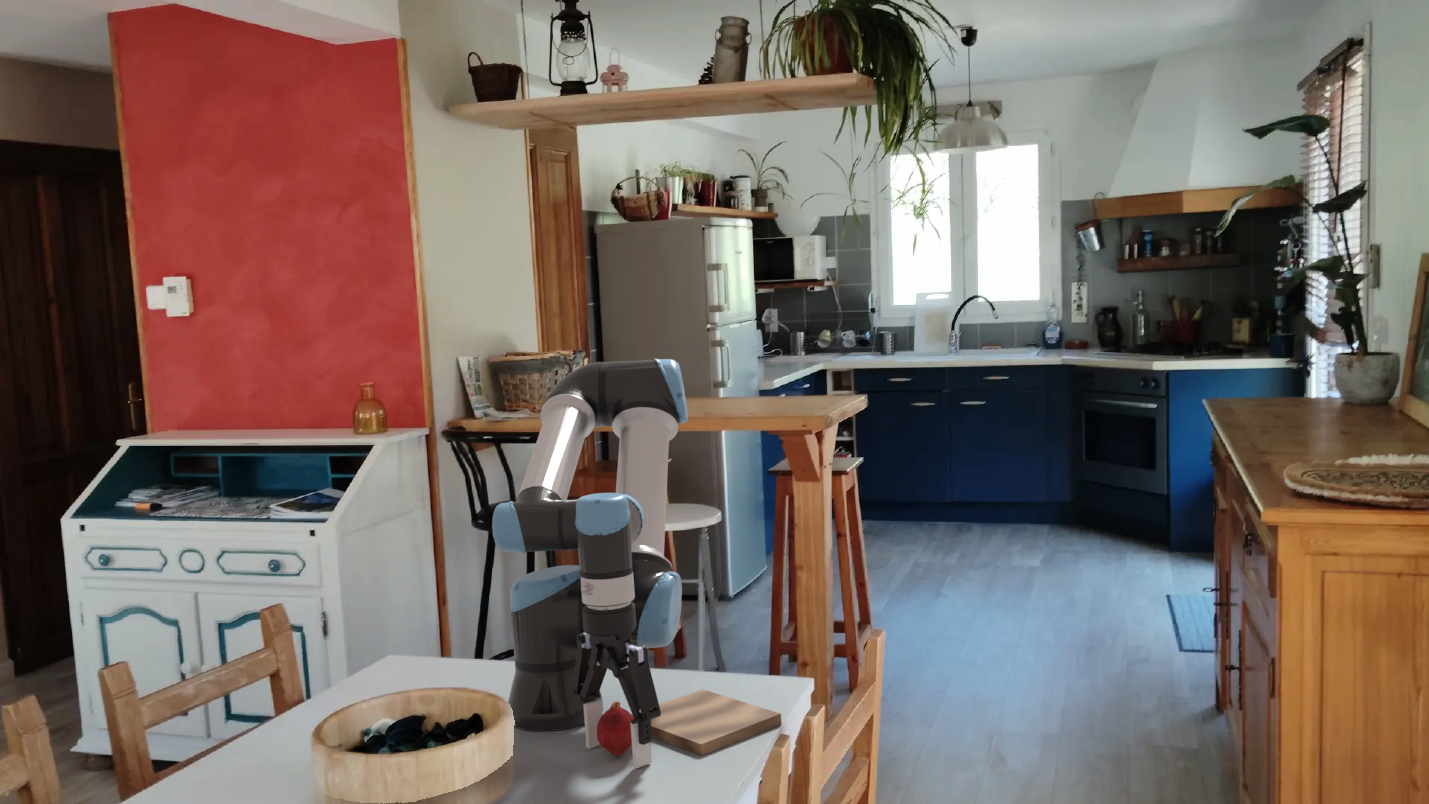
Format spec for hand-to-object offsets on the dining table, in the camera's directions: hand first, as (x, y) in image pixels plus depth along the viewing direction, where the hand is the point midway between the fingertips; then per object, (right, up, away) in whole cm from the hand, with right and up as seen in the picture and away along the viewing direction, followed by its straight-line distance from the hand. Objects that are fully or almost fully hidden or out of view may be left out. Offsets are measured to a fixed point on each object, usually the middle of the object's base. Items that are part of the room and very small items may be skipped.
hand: (618, 755), depth 166 cm
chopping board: (+12, +1, +11) cm, 16 cm away
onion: (0, 0, 0) cm, 0 cm away
